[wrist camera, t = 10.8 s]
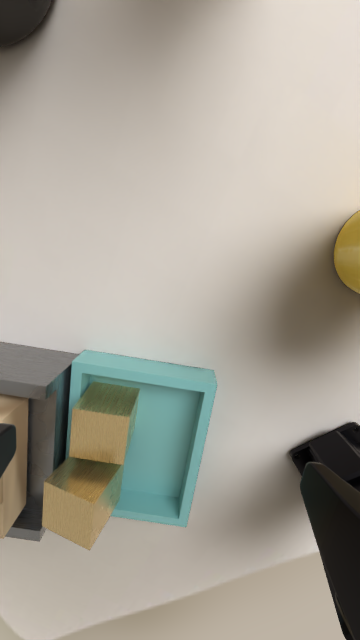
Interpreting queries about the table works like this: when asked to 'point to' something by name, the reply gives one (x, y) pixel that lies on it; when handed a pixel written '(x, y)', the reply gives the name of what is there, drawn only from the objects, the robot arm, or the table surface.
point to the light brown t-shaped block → (14, 462)
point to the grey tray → (38, 421)
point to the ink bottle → (20, 18)
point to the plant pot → (349, 253)
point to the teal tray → (154, 431)
